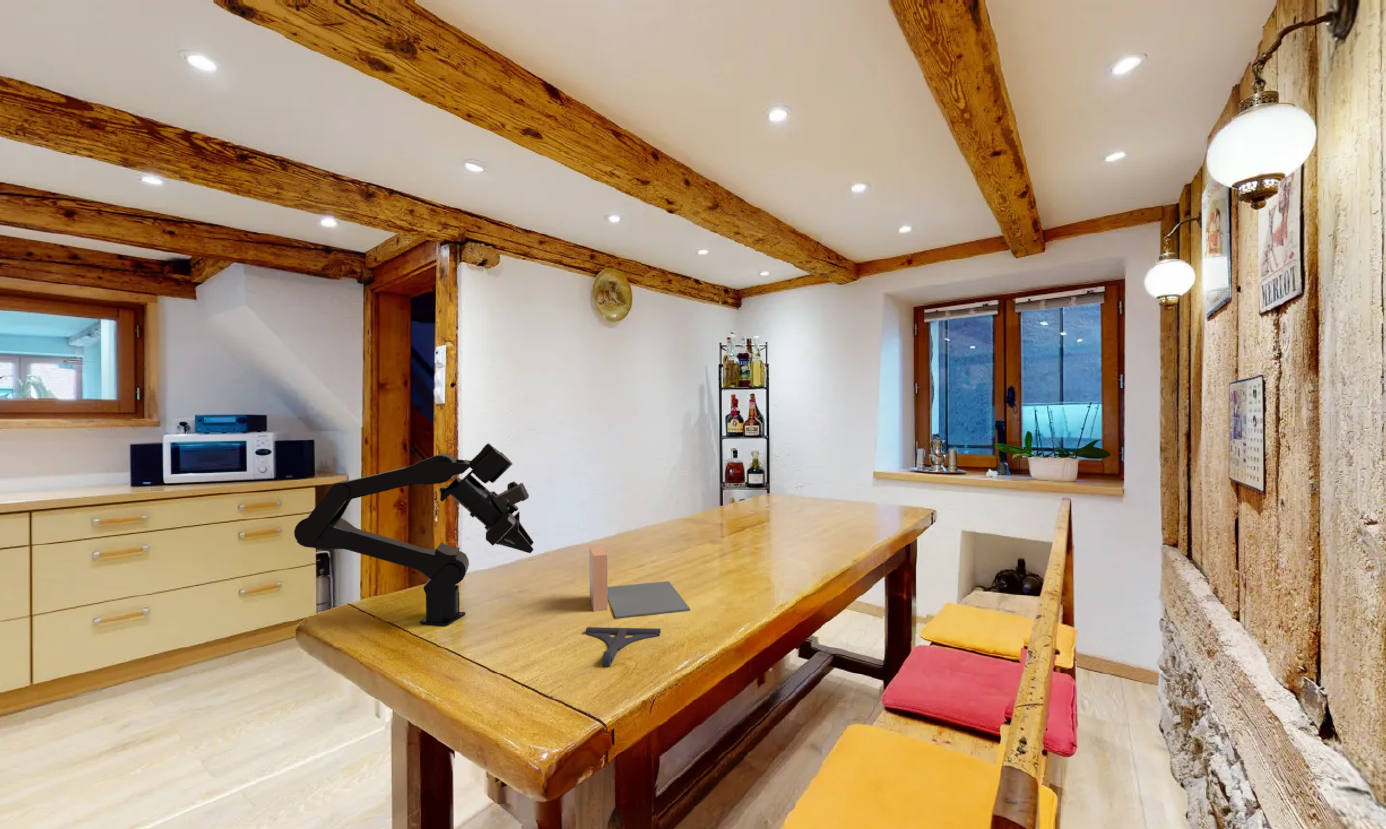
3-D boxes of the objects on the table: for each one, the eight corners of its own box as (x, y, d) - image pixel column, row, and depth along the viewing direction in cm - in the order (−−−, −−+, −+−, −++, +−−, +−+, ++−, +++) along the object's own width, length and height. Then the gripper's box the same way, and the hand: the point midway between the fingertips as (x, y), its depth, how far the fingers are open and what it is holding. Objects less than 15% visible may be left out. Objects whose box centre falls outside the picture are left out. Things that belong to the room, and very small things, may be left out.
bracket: (564, 669, 94) (564, 653, 94) (587, 634, 109) (587, 620, 109) (648, 673, 93) (648, 656, 93) (660, 636, 107) (660, 622, 107)
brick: (593, 611, 119) (593, 555, 119) (589, 598, 128) (589, 546, 128) (607, 610, 120) (607, 554, 120) (603, 596, 128) (602, 545, 128)
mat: (615, 618, 115) (615, 616, 115) (604, 588, 134) (604, 587, 134) (690, 610, 119) (690, 608, 119) (668, 582, 138) (668, 581, 138)
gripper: (503, 476, 109) (560, 528, 112) (507, 467, 127) (557, 512, 130) (460, 518, 107) (520, 570, 110) (471, 503, 125) (522, 548, 128)
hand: (532, 547), depth 120 cm, fingers open, 6 cm apart
